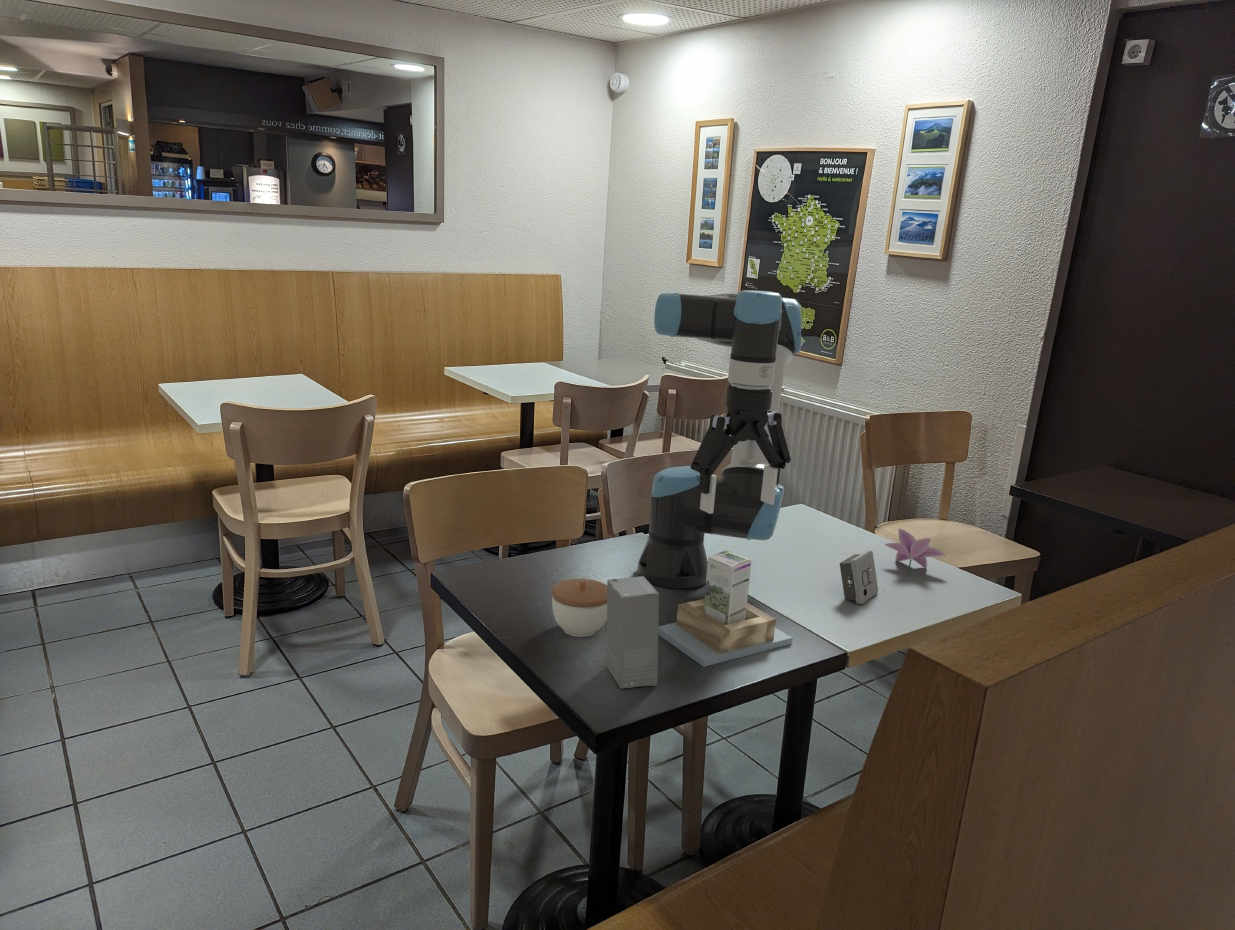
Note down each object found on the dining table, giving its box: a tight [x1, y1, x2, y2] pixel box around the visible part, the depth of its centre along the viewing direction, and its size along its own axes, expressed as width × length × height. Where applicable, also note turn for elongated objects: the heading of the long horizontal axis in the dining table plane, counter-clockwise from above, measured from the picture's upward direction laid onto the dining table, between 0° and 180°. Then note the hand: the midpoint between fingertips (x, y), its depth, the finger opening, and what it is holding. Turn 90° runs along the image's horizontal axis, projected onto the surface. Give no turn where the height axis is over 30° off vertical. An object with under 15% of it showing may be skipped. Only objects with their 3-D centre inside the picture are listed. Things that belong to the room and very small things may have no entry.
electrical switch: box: [839, 550, 879, 605], centre depth 177 cm, size 9×5×9 cm, turn 141°
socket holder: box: [658, 598, 793, 668], centre depth 154 cm, size 20×14×5 cm
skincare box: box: [606, 576, 660, 689], centre depth 137 cm, size 8×7×16 cm
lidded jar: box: [551, 578, 607, 638], centre depth 153 cm, size 11×11×9 cm
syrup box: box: [703, 550, 752, 625], centre depth 152 cm, size 6×6×14 cm
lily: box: [884, 528, 947, 576], centre depth 194 cm, size 12×12×10 cm
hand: (737, 506), depth 148 cm, fingers open, 13 cm apart
